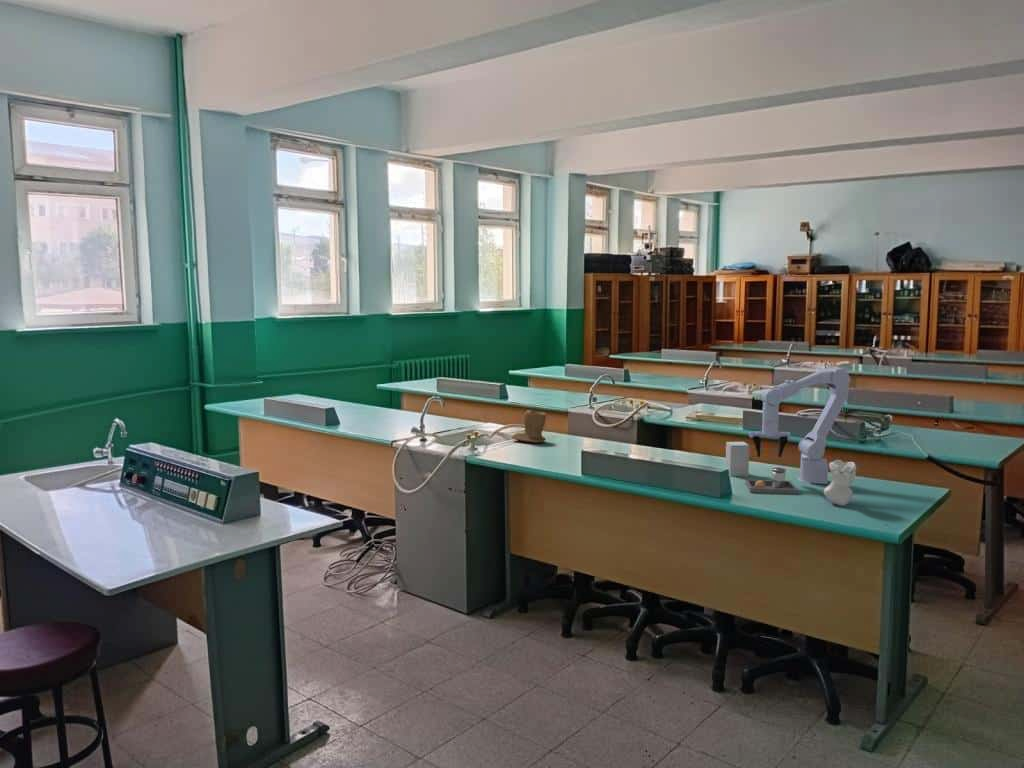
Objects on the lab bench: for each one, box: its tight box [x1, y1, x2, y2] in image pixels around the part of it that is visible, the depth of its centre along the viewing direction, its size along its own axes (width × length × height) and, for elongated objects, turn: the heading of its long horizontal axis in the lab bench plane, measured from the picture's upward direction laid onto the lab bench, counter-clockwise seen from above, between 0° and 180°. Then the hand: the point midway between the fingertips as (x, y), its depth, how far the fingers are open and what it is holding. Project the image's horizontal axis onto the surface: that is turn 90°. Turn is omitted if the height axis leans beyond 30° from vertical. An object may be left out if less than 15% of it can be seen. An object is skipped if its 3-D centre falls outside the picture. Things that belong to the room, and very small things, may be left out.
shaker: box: [771, 467, 787, 488], centre depth 286 cm, size 5×5×7 cm
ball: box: [755, 481, 765, 488], centre depth 284 cm, size 4×4×4 cm
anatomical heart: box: [823, 459, 857, 507], centre depth 265 cm, size 10×11×15 cm
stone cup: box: [511, 409, 547, 443], centre depth 375 cm, size 15×12×15 cm
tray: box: [744, 479, 798, 495], centre depth 286 cm, size 16×12×2 cm
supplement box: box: [725, 441, 750, 477], centre depth 308 cm, size 7×7×13 cm
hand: (769, 456), depth 296 cm, fingers open, 7 cm apart
